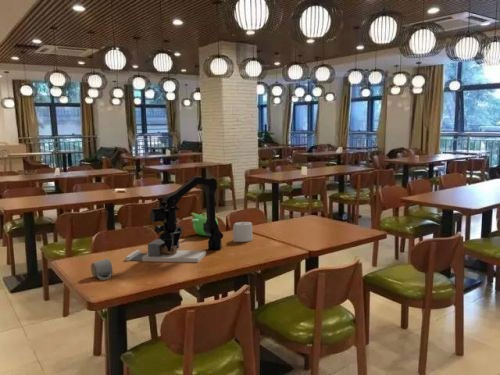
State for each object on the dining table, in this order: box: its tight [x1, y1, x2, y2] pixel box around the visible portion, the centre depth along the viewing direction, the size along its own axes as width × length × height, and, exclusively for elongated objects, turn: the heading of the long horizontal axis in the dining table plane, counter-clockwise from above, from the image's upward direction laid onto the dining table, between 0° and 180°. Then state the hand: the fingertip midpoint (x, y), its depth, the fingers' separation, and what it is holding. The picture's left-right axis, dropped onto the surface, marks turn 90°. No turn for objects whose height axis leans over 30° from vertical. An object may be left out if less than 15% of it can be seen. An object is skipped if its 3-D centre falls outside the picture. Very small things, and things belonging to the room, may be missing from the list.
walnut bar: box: [160, 245, 178, 255], centre depth 232 cm, size 14×4×4 cm, turn 80°
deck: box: [125, 249, 207, 263], centre depth 232 cm, size 39×14×2 cm, turn 80°
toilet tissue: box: [232, 221, 254, 243], centre depth 263 cm, size 11×12×10 cm
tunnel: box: [147, 238, 166, 257], centre depth 232 cm, size 6×11×6 cm, turn 170°
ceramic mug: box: [90, 258, 113, 281], centre depth 202 cm, size 11×8×8 cm
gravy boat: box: [191, 212, 219, 237], centre depth 279 cm, size 18×17×15 cm
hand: (172, 248), depth 231 cm, fingers open, 9 cm apart
